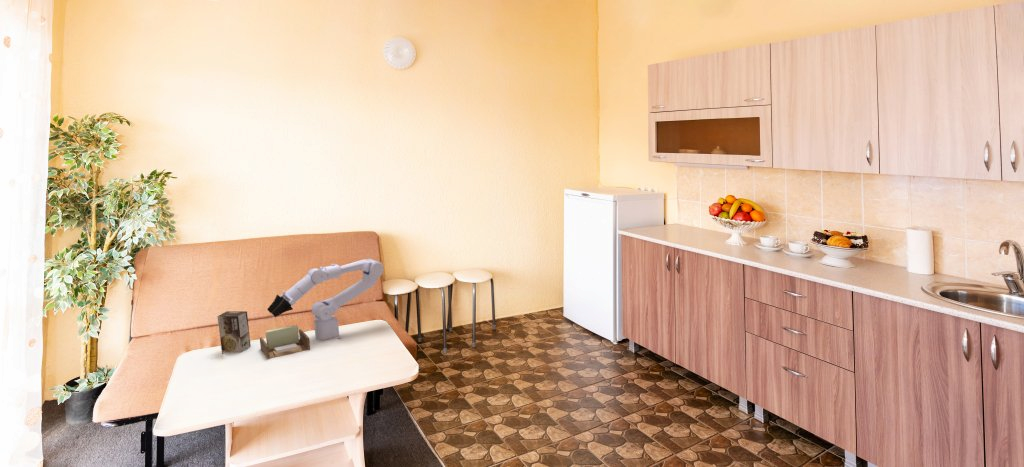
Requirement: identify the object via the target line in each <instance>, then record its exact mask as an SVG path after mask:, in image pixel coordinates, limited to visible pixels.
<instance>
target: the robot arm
mask: <svg viewBox="0 0 1024 467" xmlns="http://www.w3.org/2000/svg"><path fill="white" fill-rule="evenodd" d="M357 271H362V277H361V280H358V281H357V282H356V283H354V284H352V285H350V286H349V287H347V288H346V289H344V290H342V291H341V292H339V293H338V294H336V295H334V296H332V297H331V298H327V299H324V300H322V301H317V302H315V303H313V304H312V306H311V312H312V314H313V315H314V318H313V323H314V324H313V325H314V326H313V327H314V336H315V339H316V340H319V341H323V340H330V339H333V338H336V339H341V337H340V330H339V327H340V326H339V320H338V317H336V316H334V315H335V314H336V313H337V312H338V311H339V308H341V307H342V306H344V305H346V304H348V303H349V302H350V301H352V300H354V299H356V298H357V297H359V296H360V295H362V294H363V293H365V292H367V291H368V290H370V289H371V288H373V287H374V285H375V284H376V283H377V281H378V280H379V278H380V277H381V276H383V272H384V264H383V263H382V262H381V261H377V260H375V259H373V258H367V259H365V258H364V259H360V260H357V261H354V262H351V263H347V264H343V265H339V264H337V263H330V265H327V266H320V267H319V268H317V267H316V268H310V269H309V270H308V271H307V273H306V275H305V276H304V277H302V278H301V279H300V280H299V281H298V282H296V283H295V284H294V285H293V286H291V287H290V288H289V289H288V290H286V291H285V290H282V291H281V293H282V294H280V295H279V294H276V296H275V298H274V300H273V301H272V302H271V304H270V305H269V306H268V307H267V309H266V310H267V311H268V312H269V313H270V314H271V315H272V316H273V317H275V318H276V317H279V316H280V315H282V314H284V313H286V312H289V311H292V310H294V308H293V306H294V305H295V304H297V301H299V300H300V299H301V298H302V297H303V296H304V295H306V294H308V293H309V291H311V290H312V289H313V288H314V287H315V286H317V284H318V285H319V284H323V283H324V282H325V281H329V280H330V281H331V280H334V279H337V278H340V277H341V276H342V275H343V274H346V273H351V272H357Z"/></svg>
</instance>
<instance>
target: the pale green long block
mask: <svg viewBox="0 0 1024 467" xmlns="http://www.w3.org/2000/svg"><path fill="white" fill-rule="evenodd" d="M265 336H266V337H265V339H266V340H265V342H266V344H267V345H268V346H269V349H270V348H274V347H279V346H284V345H288V344H293V343H298V342H299V339H300V338H299V326H298V324H294V325H290V326H289V325H288V326H283V327H278V328H274V329H269V330H265Z"/></svg>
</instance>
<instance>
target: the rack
mask: <svg viewBox="0 0 1024 467" xmlns="http://www.w3.org/2000/svg"><path fill="white" fill-rule="evenodd" d="M298 332H299V342H298V343H293V344H296V345H297V346H298V345H300V347H301V348H302V351H300V352H295V353H291V354H286V355H282V356H277V357H275V356H274V354H273V351H274V348H276V347H274V348H270V349H269V346H268V345H267V341H266V340H265V339H264V338H263V337H262V336H260V337H259V344H260V345H259V346H260V350H261V352H262V353H263V355H264V356H265V359H266V360H271V359H274V358H279V357H283V356H287V355H293V354H297V353H302V352H305V351H310V350H311V344H310V337H309V336H308V335H307V334H306V333H305V332H304V331H303V330H302V329H301V328H300V329H299V328H298ZM288 345H290V344H288ZM284 346H285V345H284ZM279 347H281V346H279Z"/></svg>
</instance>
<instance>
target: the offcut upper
mask: <svg viewBox="0 0 1024 467" xmlns="http://www.w3.org/2000/svg"><path fill="white" fill-rule="evenodd" d="M295 349H298V346H297V345H296V344H290V345H285V346H281V347H276V348H274V351H275V352H276V353H281V352H286V351H290V350H295Z"/></svg>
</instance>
